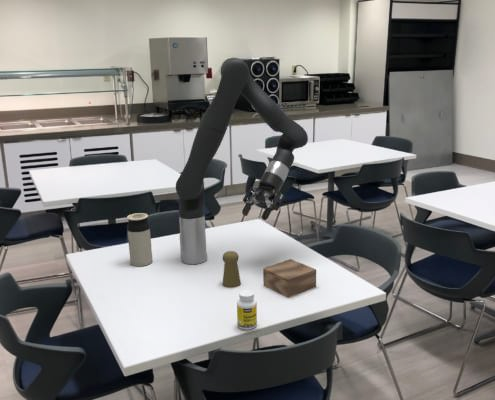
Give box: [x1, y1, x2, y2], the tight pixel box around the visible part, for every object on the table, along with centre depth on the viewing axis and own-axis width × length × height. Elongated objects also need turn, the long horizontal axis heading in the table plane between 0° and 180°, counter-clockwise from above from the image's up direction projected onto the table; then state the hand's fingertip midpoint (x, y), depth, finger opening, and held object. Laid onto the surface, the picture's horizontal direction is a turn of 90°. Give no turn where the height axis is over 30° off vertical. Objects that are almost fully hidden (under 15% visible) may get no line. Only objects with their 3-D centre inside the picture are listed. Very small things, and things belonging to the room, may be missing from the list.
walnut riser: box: [262, 258, 317, 299], centre depth 165 cm, size 12×12×6 cm
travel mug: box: [126, 212, 153, 267], centre depth 186 cm, size 8×8×18 cm
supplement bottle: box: [236, 289, 258, 331], centre depth 140 cm, size 5×5×10 cm
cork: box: [222, 250, 242, 289], centre depth 167 cm, size 6×6×11 cm
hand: (253, 216), depth 171 cm, fingers open, 8 cm apart
